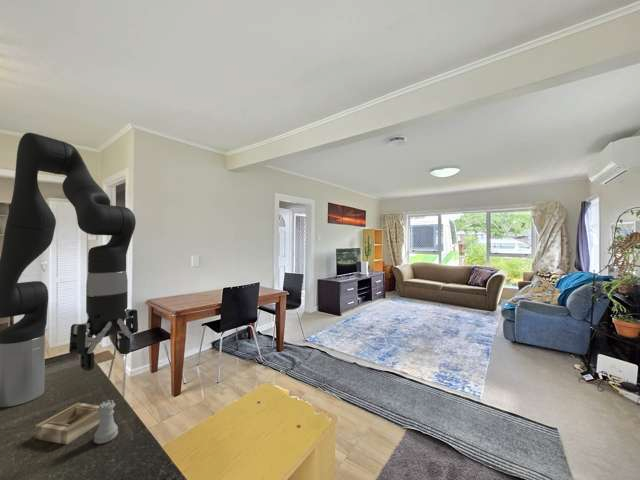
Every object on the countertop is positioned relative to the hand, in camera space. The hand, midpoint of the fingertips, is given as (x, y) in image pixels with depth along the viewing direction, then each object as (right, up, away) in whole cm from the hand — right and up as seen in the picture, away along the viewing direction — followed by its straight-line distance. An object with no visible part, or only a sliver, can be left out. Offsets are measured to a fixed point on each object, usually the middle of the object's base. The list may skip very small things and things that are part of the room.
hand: (107, 361), depth 62 cm
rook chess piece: (0, -18, 0) cm, 18 cm away
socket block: (-11, -18, +3) cm, 21 cm away
